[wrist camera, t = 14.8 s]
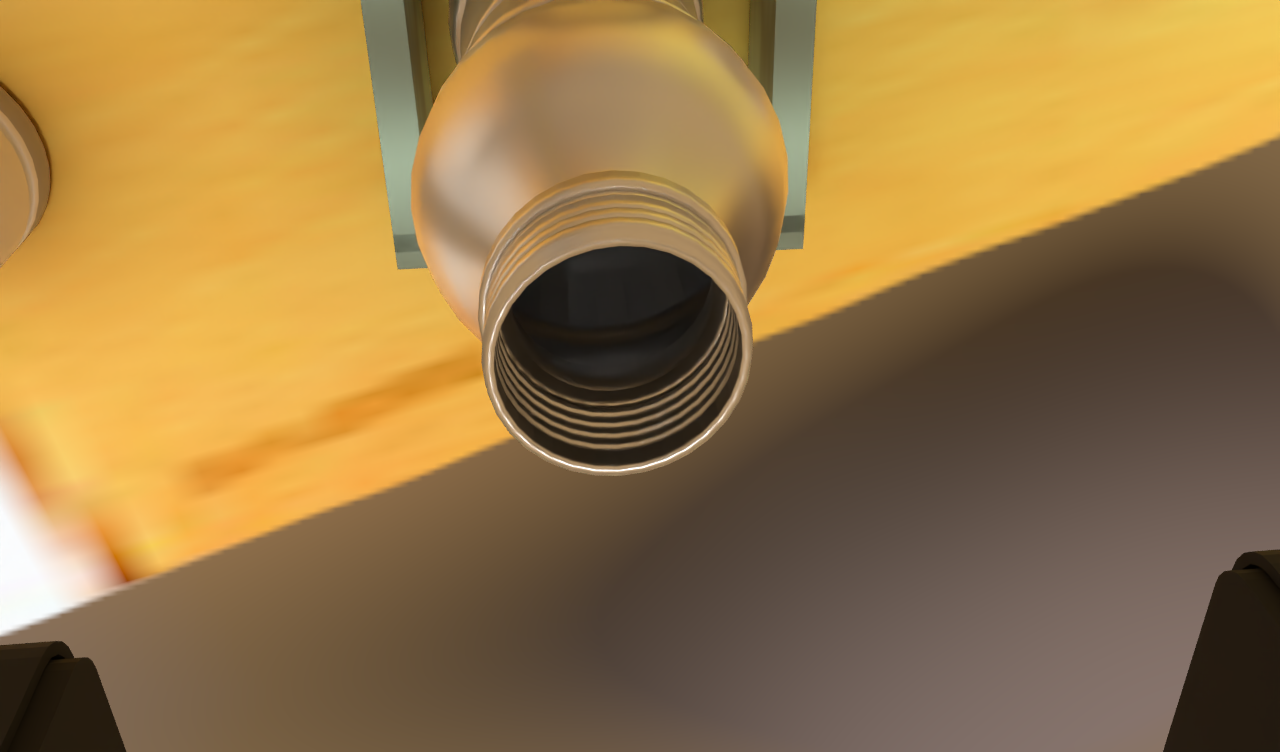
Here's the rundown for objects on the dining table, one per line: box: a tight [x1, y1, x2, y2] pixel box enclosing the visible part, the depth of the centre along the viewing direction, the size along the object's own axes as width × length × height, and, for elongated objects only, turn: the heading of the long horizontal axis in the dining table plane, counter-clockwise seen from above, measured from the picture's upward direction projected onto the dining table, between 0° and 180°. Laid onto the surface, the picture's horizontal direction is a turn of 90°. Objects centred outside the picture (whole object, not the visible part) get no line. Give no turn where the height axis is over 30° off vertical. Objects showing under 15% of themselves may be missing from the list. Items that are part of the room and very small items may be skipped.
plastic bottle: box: [411, 0, 788, 476], centre depth 24 cm, size 6×7×20 cm
